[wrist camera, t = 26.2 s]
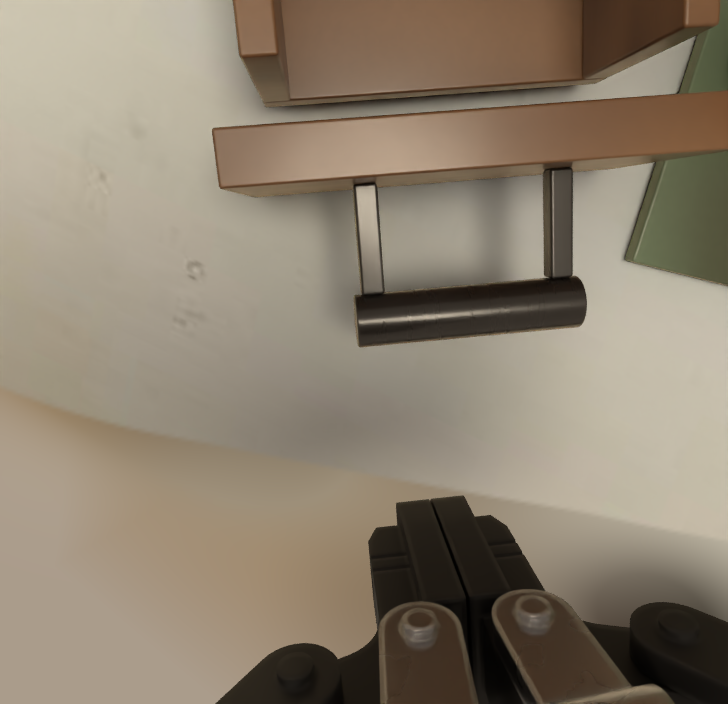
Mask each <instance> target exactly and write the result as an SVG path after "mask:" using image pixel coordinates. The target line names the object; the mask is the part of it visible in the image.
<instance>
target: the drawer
mask: <svg viewBox="0 0 728 704" xmlns="http://www.w3.org/2000/svg"><path fill="white" fill-rule="evenodd" d="M233 6H234V15H235V24H236V32H237V41H238V49H239V55H240V57H241V59H242V61H243V63H244V65H245V67H246V69H247V71H248V73H249V75H250V77H251V79H252V81H253V83H254V85H255V87H256V89H257V91H258V93H259V95H260V97H261V99H262V101H263V103H264V105H265V107H277V106H291V105H305V104H319V103H333V102H347V101H360V100H374V99H388V98H402V97H416V96H430V95H444V94H458V93H472V92H486V91H500V90H513V89H527V88H541V87H555V86H569V85H583V84H595V83H597V82H600V81H602V80H604V79H606V78H607V77H610V76H612V75H614V74H616V73H618V72H620V71H622V70H624V69H626V68H628V67H631V66H633V65H635V64H637V63H639V62H641V61H643V60H645V59H647V58H650V57H652V56H654V55H656V54H658V53H660V52H662V51H664V50H666V49H668V48H671V47H673V46H675V45H677V44H679V43H681V42H683V41H685V40H687V39H690V38H692V37H694V36H696V35H698V34H700V33H702V32H704V31H706V30H708V29H711V28H713V27H715V26H717V25H718V23H719V20H720V0H233ZM212 135H213V143H214V151H215V158H216V166H217V174H218V182H219V187H220V189H224V190H228V191H231V192H235V193H239V194H243V195H247V196H251V197H265V196H278V195H290V194H303V193H315V192H328V191H340V190H352V192H353V204H354V216H355V229H356V241H357V253H358V266H359V278H360V290H361V293H362V294H360V295H354V317H355V327H356V336H357V343H358V346H359V347H370V346H381V345H392V344H402V343H413V342H424V341H435V340H445V339H456V338H467V337H477V336H488V335H499V334H509V333H520V332H531V331H541V330H552V329H563V328H574V327H579V326H580V325H582V323H583V322H584V319H585V316H586V309H587V300H586V293H585V289H584V286H583V283H582V281H581V280H580V279H579V278H578V277H577V276H572V274H573V172H579V171H592V170H604V169H614V168H621V167H627V166H634V165H640V164H647V163H653V162H659V161H666V160H672V159H679V158H685V157H692V156H698V155H705V154H711V153H717V152H724V151H728V90H723V91H710V92H696V93H682V94H669V95H655V96H642V97H628V98H614V99H601V100H587V101H573V102H560V103H546V104H532V105H519V106H505V107H492V108H478V109H464V110H451V111H437V112H423V113H410V114H396V115H383V116H369V117H355V118H342V119H328V120H314V121H301V122H287V123H273V124H260V125H246V126H233V127H219V128H213V129H212ZM541 174H543V220H544V275H545V277H549V278H540V279H529V280H517V281H506V282H495V283H484V284H472V285H461V286H450V287H439V288H427V289H416V290H405V291H394V292H384V291H385V289H384V275H383V261H382V247H381V233H380V219H379V205H378V191H377V188H378V187H391V186H403V185H416V184H428V183H441V182H453V181H466V180H479V179H491V178H504V177H516V176H529V175H541Z"/></svg>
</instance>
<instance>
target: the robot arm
mask: <svg viewBox="0 0 728 704" xmlns="http://www.w3.org/2000/svg"><path fill="white" fill-rule="evenodd" d="M396 512H397V526H388V527H379V528H376V529H375V531H374V532H373V534H372V536H371V538H370V540H369V542H368V544H369V554H370V566H371V576H372V588H373V600H374V608H375V616H376V623H377V632H376V634H375V636H374V637H373V639H372V640H371V641H370V642H369V643H368V644H367V645H365V647H363V648H361V649H360V650H359V651H357V652H355V653H352V654H351V655H348V656H345V657H343V658H340V659H337V657H336V656H335V655H334V654H333V653H332V652H331V651H329V650H328V649H326V648H324V647H322V646H319V645H316V644H308V643H301V644H293V645H289V646H286V647H283V648H280V649H278V650H276V651H274V652H273V653H271V654H269V655H268V656H267V657H265V658H264V659H263V660H262V661H261V662H260V663H259V664H258V665H257V666H255V668H253V669H252V670H251V671H250V672H249V673H248V674H247V675H246V676H245V677H244V678H243V679H242V680H240V681H239V682H238V683H237V684H236V685H235V686H234V687H233V688H232V689H231V690H230V691H229V692H228V693H226V694H225V695H224V696H223V697H222V698H221V699H220V700H219V701H218V702H217V703H216V704H728V622H726V621H723V620H720V619H718V618H716V617H713V616H711V615H708V614H705V613H703V612H701V611H698V610H696V609H693V608H691V607H688V606H684V605H680V604H675V603H667V602H656V603H649V604H646V605H643V606H641V607H639V608H637V609H636V610H635V611H634V612H633V613H632V615H631V618H630V628H627V627H619V626H608V625H601V624H594V623H590V622H586V621H582V620H581V619H580V618H579V616H578V615H577V614H576V612H575V611H574V609H573V608H572V607H571V606H570V605H569V604H568V603H567V602H566V601H564V600H563V599H562V598H560V597H558V596H556V595H554V594H552V593H548V592H546V591H545V590H544V588H543V586H542V585H541V583H540V581H539V580H538V578H537V576H536V575H535V573H534V571H533V569H532V568H531V566H530V565H529V563H528V561H527V559H526V557H525V556H524V555H523V554H522V551H521V549H520V547H519V546H518V544H517V543H516V542H515V539H514V537H513V535H512V534H511V532H510V530H509V529H508V527H507V526H506V525H505V524H503V523H501V522H500V521H499V520H497V519H495V518H494V517H493V516H491V515H487V516H478V517H474V515H473V513H472V511H471V509H470V507H469V505H468V503H467V501H466V499H465V497H464V496H453V497H445V498H435V499H431V500H429V499H427V500H417V501H408V502H399V503H397V504H396Z"/></svg>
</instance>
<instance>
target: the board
mask: <svg viewBox="0 0 728 704" xmlns="http://www.w3.org/2000/svg"><path fill="white" fill-rule="evenodd" d="M723 90H728V0H720V20H719V23H718V25H717V26H715V27H713V28H711V29H708V30H706V31H704V32H702V33H700V34H698V36H697V39H696V42H695V45H694V48H693V51H692V54H691V57H690V60H689V64H688V67H687V70H686V73H685V76H684V79H683V82H682V85H681V88H680V91H679V94H682V93H696V92H710V91H723ZM625 260H626V261H629V262H633V263H637V264H641V265H645V266H649V267H653V268H657V269H661V270H665V271H669V272H673V273H677V274H681V275H685V276H689V277H693V278H697V279H701V280H705V281H709V282H713V283H717V284H721V285H725V286H728V151H724V152H717V153H711V154H705V155H698V156H692V157H685V158H679V159H672V160H666V161H659V162H656V165H655V168H654V171H653V174H652V177H651V180H650V183H649V186H648V190H647V193H646V196H645V199H644V202H643V205H642V208H641V211H640V214H639V217H638V220H637V223H636V226H635V229H634V233H633V236H632V239H631V242H630V245H629V248H628V251H627V254H626V257H625Z"/></svg>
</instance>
